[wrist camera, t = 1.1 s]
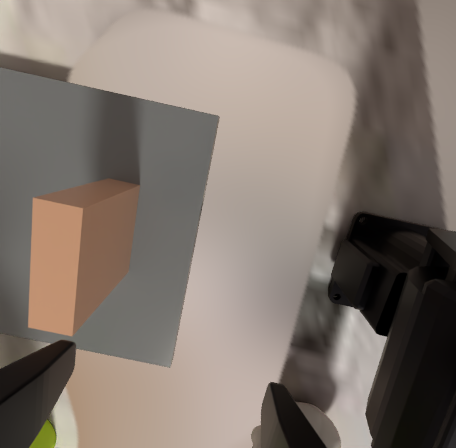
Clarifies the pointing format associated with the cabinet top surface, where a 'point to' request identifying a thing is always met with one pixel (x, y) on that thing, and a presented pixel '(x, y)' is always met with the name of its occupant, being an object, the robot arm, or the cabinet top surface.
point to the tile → (79, 251)
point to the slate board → (95, 171)
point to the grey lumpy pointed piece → (318, 422)
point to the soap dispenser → (45, 437)
